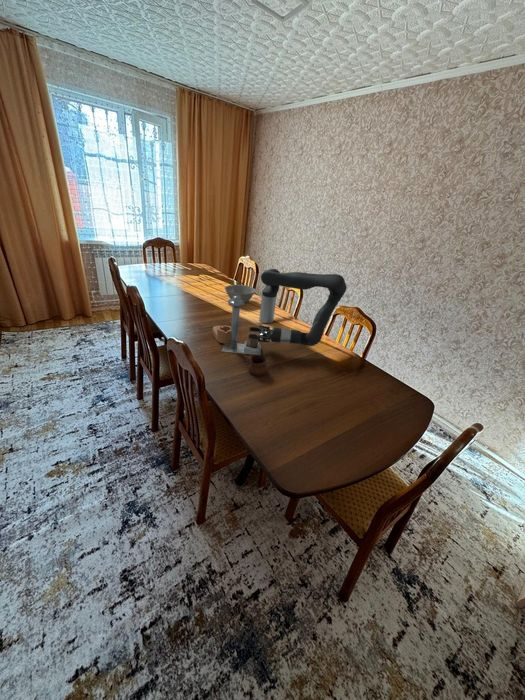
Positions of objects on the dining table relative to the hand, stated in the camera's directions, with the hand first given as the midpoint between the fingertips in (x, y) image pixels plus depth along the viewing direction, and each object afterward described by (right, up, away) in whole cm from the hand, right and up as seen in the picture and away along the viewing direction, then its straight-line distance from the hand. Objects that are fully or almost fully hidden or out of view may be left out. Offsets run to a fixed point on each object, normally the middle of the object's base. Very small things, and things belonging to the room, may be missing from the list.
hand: (249, 332), depth 145 cm
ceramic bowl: (-11, +27, +69) cm, 74 cm away
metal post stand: (-4, -8, +5) cm, 10 cm away
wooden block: (+1, -9, +5) cm, 10 cm away
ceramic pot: (+4, -19, -12) cm, 24 cm away
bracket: (-16, -2, +15) cm, 22 cm away
